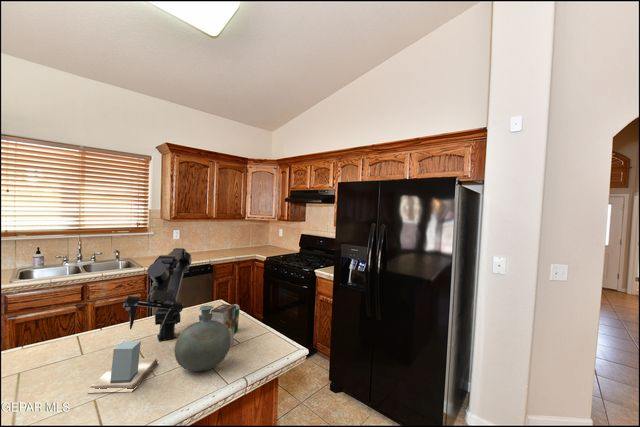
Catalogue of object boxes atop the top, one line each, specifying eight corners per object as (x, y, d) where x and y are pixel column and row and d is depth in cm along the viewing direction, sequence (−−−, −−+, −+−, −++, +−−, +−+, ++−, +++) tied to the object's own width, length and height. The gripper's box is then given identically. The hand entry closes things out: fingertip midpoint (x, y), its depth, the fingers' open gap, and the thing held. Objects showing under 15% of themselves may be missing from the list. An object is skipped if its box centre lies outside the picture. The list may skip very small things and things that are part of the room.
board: (120, 364, 89) (121, 358, 89) (157, 363, 91) (157, 357, 91) (87, 393, 73) (88, 386, 74) (132, 392, 75) (133, 385, 75)
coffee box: (220, 340, 111) (223, 303, 112) (233, 342, 110) (236, 305, 111) (207, 350, 102) (210, 309, 103) (221, 353, 101) (224, 311, 102)
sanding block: (120, 373, 80) (123, 341, 81) (137, 373, 81) (140, 341, 82) (110, 383, 76) (113, 348, 76) (128, 382, 76) (132, 348, 77)
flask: (184, 360, 94) (189, 300, 95) (231, 362, 94) (236, 302, 96) (167, 379, 82) (173, 310, 83) (220, 381, 83) (226, 313, 84)
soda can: (226, 329, 122) (228, 304, 123) (237, 328, 124) (239, 303, 125) (226, 334, 118) (229, 307, 118) (238, 333, 120) (240, 307, 120)
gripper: (134, 275, 88) (115, 323, 79) (191, 284, 97) (180, 328, 88) (130, 284, 95) (112, 329, 86) (184, 292, 105) (173, 334, 96)
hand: (146, 330), depth 89 cm, fingers open, 9 cm apart
